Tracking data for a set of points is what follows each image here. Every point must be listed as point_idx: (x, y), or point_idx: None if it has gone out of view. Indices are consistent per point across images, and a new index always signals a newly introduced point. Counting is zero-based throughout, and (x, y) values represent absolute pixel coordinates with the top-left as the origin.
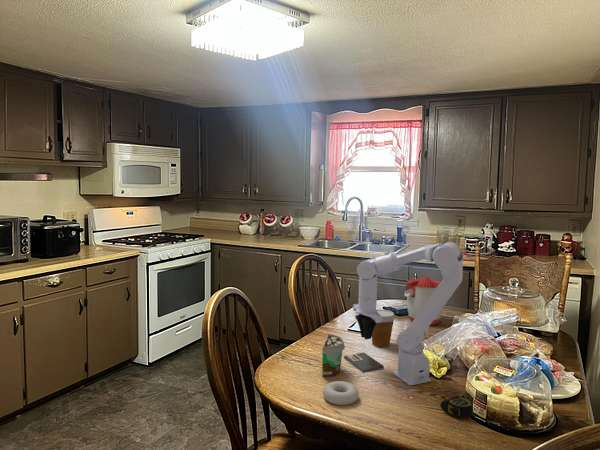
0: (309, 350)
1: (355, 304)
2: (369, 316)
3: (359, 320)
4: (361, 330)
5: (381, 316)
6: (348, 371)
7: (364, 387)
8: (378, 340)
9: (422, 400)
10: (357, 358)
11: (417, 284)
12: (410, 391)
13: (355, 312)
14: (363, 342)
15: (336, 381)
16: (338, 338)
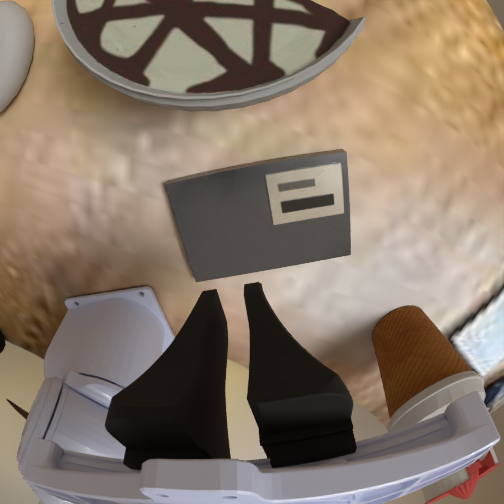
0: (453, 44)
1: (484, 452)
2: (77, 474)
3: (250, 381)
4: (247, 315)
5: (53, 495)
6: (186, 118)
7: (44, 152)
8: (391, 334)
9: (6, 289)
10: (289, 202)
11: (478, 471)
12: (38, 284)
13: (226, 466)
14: (439, 283)
15: (1, 43)
16: (269, 82)
